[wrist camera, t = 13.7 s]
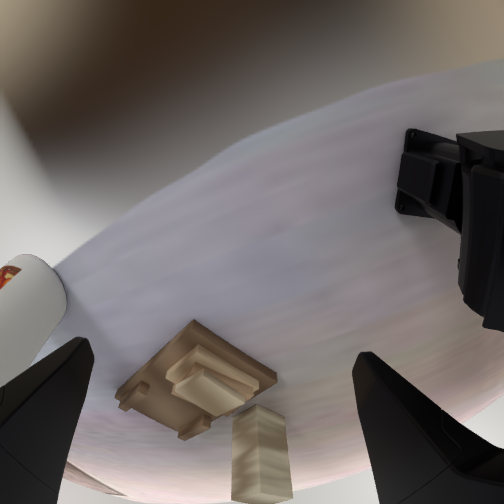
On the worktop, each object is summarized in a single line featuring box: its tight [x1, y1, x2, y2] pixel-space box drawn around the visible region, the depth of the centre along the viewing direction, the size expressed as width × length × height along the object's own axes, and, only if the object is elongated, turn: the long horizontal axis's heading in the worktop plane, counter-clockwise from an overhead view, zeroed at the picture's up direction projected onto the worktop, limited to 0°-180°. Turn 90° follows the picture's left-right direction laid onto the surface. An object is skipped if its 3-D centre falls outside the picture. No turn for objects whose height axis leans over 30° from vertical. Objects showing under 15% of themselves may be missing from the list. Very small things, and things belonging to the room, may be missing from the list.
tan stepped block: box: [114, 319, 277, 441], centre depth 26 cm, size 16×10×4 cm, turn 137°
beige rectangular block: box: [231, 404, 293, 504], centre depth 25 cm, size 4×4×11 cm
